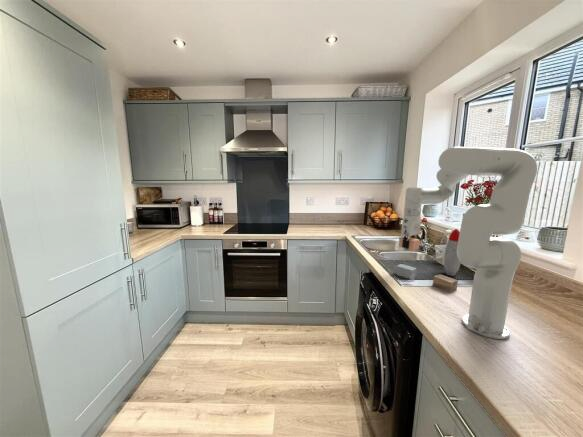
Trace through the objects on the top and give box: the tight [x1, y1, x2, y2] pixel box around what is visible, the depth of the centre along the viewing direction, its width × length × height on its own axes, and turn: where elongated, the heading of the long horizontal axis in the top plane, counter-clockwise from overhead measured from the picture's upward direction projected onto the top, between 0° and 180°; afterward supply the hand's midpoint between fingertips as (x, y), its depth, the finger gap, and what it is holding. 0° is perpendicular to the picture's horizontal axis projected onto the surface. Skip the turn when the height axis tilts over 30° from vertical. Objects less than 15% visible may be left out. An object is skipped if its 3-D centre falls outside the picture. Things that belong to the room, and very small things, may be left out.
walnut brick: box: [432, 274, 459, 293], centre depth 110 cm, size 5×8×5 cm, turn 28°
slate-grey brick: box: [395, 263, 417, 280], centre depth 123 cm, size 5×8×5 cm, turn 39°
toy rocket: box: [443, 228, 462, 277], centre depth 124 cm, size 8×8×25 cm
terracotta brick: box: [398, 235, 421, 251], centre depth 120 cm, size 5×8×5 cm, turn 27°
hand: (408, 246), depth 121 cm, fingers closed on terracotta brick, 5 cm apart
